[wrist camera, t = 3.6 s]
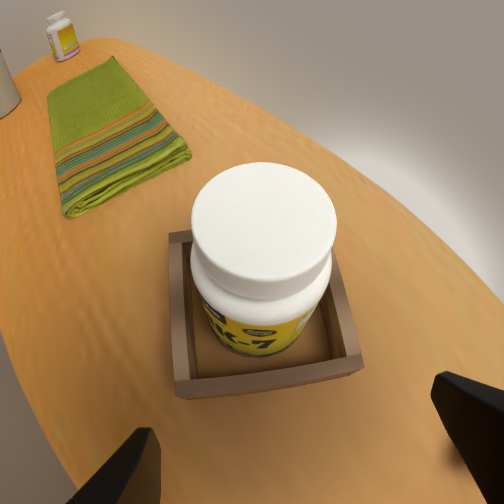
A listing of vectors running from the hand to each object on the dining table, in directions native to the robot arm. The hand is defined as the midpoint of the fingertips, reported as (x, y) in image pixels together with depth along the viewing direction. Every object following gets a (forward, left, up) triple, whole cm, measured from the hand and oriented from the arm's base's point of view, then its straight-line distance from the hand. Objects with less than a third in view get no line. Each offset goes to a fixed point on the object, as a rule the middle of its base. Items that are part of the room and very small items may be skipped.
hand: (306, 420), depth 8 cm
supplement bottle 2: (+7, +4, -14) cm, 16 cm away
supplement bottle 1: (+48, +68, -14) cm, 84 cm away
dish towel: (+25, +35, -14) cm, 45 cm away
